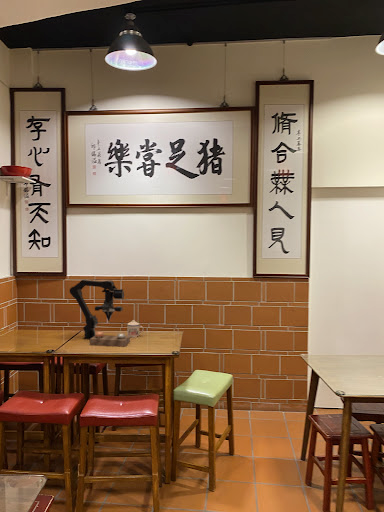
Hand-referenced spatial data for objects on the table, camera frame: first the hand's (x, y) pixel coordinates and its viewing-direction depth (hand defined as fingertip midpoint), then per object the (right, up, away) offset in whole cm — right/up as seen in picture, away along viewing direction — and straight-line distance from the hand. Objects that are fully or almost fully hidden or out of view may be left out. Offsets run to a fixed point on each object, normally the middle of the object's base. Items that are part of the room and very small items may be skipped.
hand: (108, 320), depth 278 cm
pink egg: (-4, -12, -11) cm, 17 cm away
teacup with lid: (+17, -13, +11) cm, 24 cm away
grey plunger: (+11, -13, -13) cm, 21 cm away
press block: (+3, -13, -12) cm, 18 cm away
